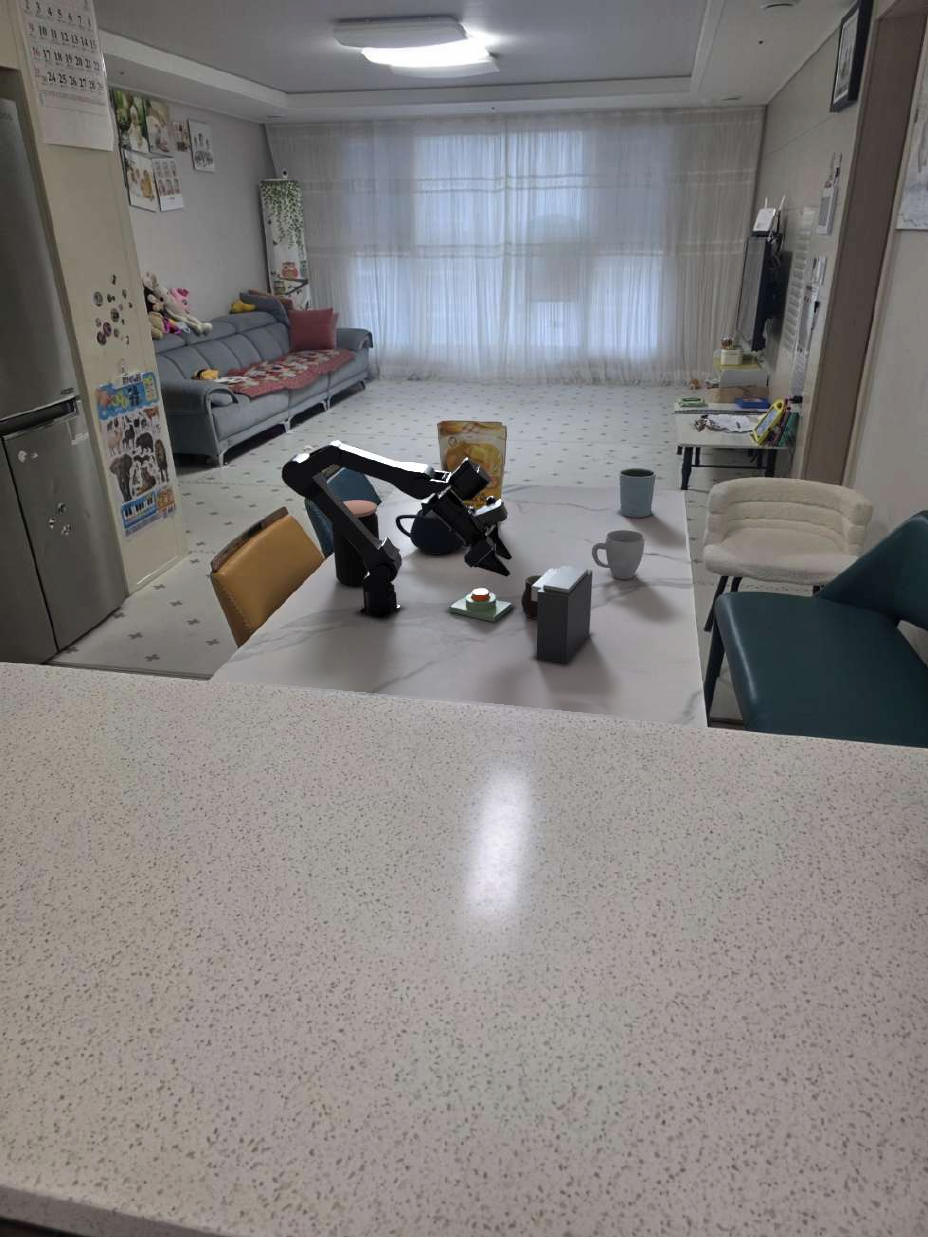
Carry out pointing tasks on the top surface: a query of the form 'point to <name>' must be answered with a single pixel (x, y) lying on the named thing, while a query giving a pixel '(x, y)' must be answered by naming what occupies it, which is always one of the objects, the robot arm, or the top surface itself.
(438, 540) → the teapot
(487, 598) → the eject button
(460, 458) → the pancake mix bag
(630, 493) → the blue cup
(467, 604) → the pad
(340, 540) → the coffee jar
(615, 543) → the mug
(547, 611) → the lidded grey bin
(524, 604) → the mate gourd
